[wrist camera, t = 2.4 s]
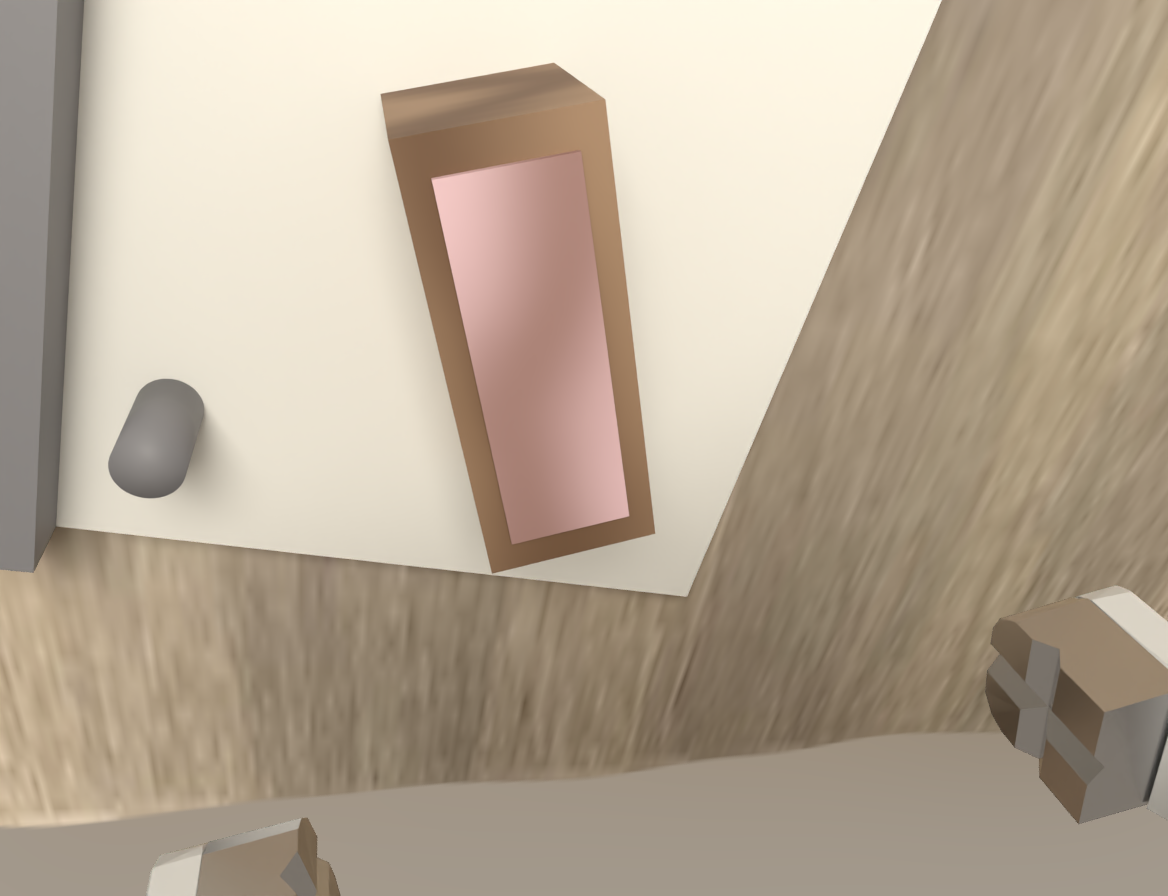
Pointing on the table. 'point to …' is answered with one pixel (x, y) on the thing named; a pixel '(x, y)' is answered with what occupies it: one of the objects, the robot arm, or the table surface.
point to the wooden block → (528, 304)
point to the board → (390, 257)
